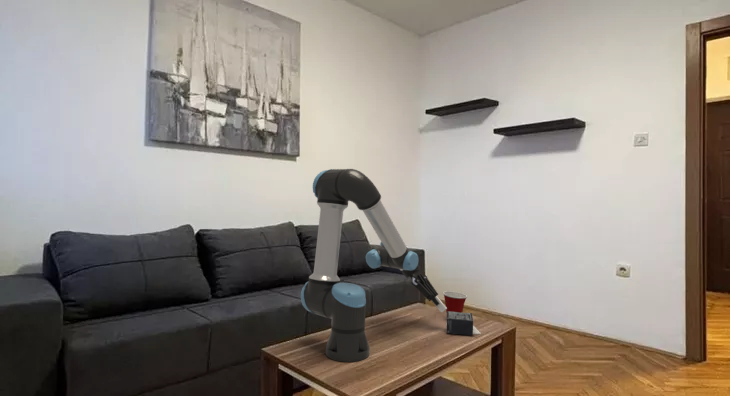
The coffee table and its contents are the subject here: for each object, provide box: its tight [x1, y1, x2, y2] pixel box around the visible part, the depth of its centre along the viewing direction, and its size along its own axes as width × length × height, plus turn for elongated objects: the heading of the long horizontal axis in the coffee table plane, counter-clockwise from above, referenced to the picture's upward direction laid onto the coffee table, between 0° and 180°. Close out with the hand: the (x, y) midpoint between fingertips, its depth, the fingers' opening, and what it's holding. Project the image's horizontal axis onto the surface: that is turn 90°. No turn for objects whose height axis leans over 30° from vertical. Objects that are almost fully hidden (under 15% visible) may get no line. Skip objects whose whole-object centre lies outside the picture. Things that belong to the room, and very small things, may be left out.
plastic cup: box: [442, 290, 468, 314], centre depth 187 cm, size 11×11×12 cm
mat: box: [445, 322, 482, 335], centre depth 175 cm, size 12×13×1 cm
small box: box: [446, 311, 474, 336], centre depth 171 cm, size 11×6×10 cm
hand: (444, 310), depth 172 cm, fingers closed
